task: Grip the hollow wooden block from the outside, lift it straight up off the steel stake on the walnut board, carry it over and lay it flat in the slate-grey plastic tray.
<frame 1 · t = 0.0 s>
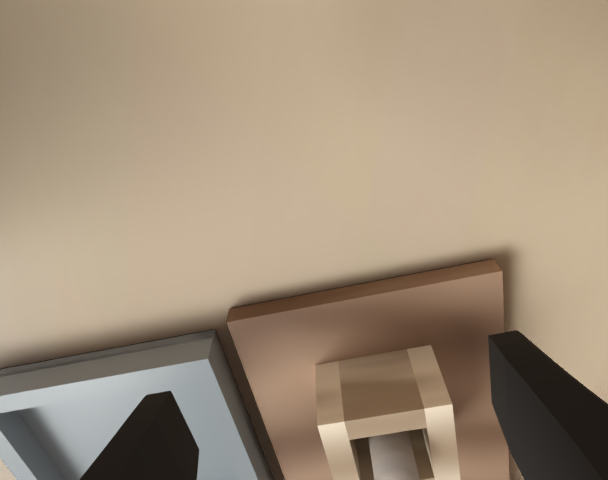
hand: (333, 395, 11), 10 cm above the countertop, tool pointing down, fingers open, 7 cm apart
tray: (142, 435, 26), on the countertop
stake board: (386, 422, 26), on the countertop
hollow wooden block: (380, 396, 23), point 1 cm above the countertop, touching stake board
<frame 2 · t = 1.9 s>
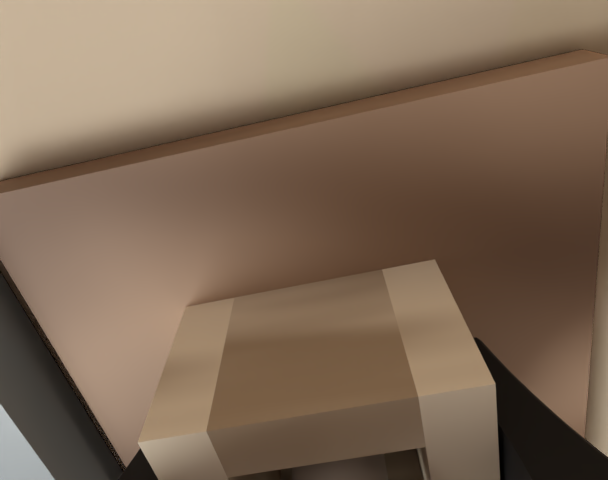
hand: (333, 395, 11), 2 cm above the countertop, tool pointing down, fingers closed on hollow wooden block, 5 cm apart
stake board: (349, 428, 14), on the countertop
hollow wooden block: (331, 376, 11), point 1 cm above the countertop, touching gripper, stake board
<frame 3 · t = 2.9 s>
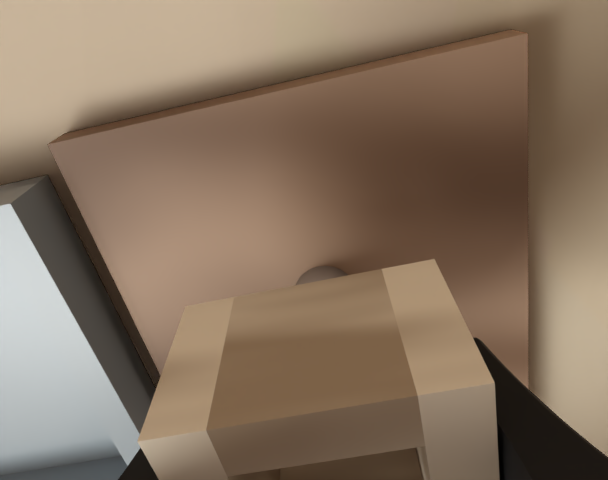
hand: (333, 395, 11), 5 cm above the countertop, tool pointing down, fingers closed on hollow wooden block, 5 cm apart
stake board: (340, 344, 17), on the countertop
hollow wooden block: (331, 376, 11), point 4 cm above the countertop, touching gripper
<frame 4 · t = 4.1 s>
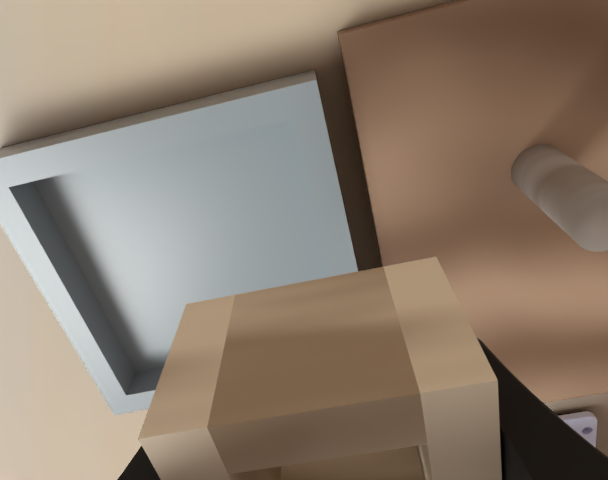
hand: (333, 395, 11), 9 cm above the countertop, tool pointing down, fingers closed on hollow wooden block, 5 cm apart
tray: (205, 252, 20), on the countertop
stake board: (526, 228, 20), on the countertop
hollow wooden block: (332, 374, 11), point 9 cm above the countertop, touching gripper
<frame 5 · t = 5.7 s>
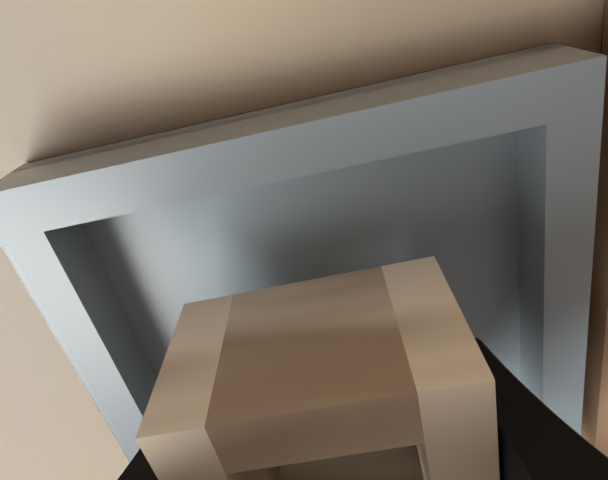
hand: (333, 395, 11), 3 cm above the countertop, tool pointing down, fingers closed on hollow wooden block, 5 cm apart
tray: (327, 319, 13), on the countertop
hollow wooden block: (330, 374, 11), point 2 cm above the countertop, touching gripper
when the fingers open (3 cm above the countertop, at t = 6.7 s): hollow wooden block drops 1 cm, resting on tray.
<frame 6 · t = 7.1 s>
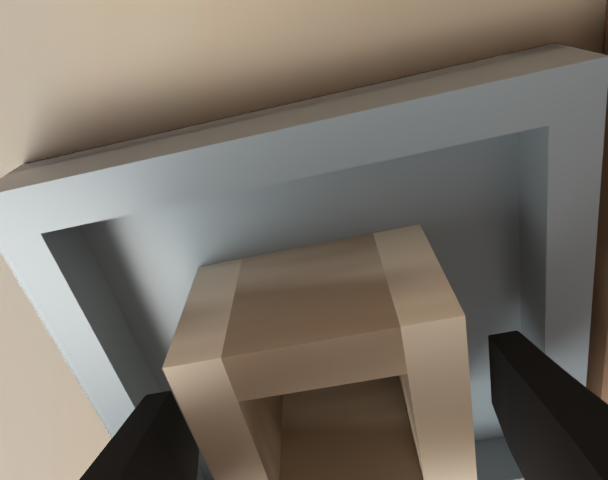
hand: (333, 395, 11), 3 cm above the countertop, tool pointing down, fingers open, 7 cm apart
tray: (327, 321, 13), on the countertop
hollow wooden block: (328, 333, 13), point 1 cm above the countertop, touching tray
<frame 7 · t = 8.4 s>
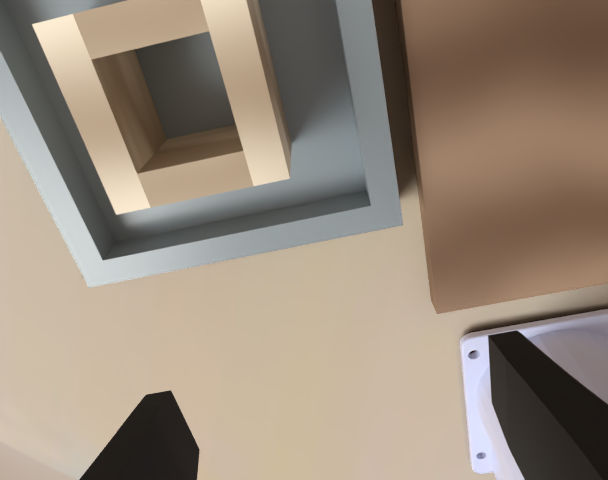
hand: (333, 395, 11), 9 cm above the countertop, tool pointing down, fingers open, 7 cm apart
tray: (199, 82, 17), on the countertop
stake board: (582, 55, 16), on the countertop
hollow wooden block: (195, 83, 16), point 1 cm above the countertop, touching tray
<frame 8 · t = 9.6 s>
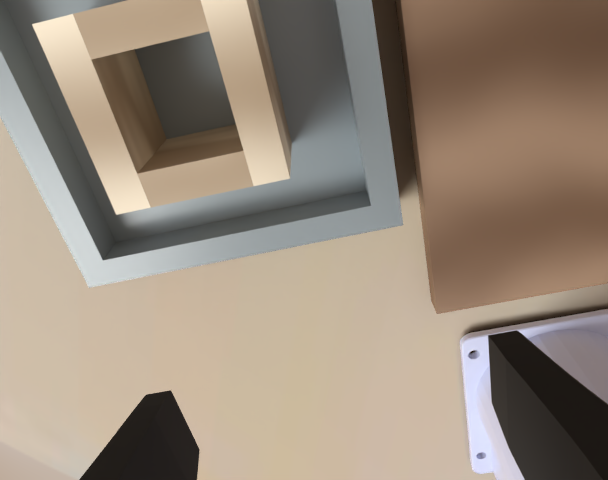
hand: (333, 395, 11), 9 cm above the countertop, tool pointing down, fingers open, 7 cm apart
tray: (199, 82, 17), on the countertop
stake board: (582, 55, 16), on the countertop
hollow wooden block: (195, 83, 16), point 1 cm above the countertop, touching tray
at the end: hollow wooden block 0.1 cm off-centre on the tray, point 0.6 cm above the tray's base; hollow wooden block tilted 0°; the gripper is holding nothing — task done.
